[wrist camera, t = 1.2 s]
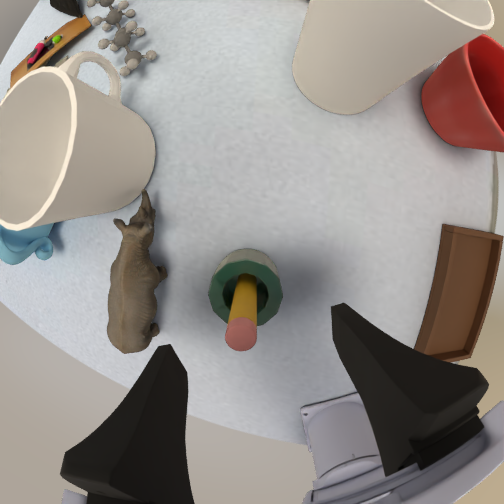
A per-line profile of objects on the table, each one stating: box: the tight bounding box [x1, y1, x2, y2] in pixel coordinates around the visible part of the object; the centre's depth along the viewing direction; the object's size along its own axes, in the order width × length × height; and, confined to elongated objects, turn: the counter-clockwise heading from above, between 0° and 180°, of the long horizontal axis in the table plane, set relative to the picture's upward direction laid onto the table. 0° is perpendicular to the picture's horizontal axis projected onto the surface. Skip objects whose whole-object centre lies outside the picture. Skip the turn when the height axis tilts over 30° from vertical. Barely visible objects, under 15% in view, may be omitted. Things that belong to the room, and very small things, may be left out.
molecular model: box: [87, 0, 157, 76], centre depth 16 cm, size 14×4×5 cm, turn 26°
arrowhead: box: [50, 0, 83, 18], centre depth 14 cm, size 6×1×10 cm
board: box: [10, 14, 91, 89], centre depth 16 cm, size 6×12×2 cm, turn 125°
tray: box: [414, 224, 503, 362], centre depth 22 cm, size 15×9×2 cm, turn 176°
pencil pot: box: [208, 249, 283, 326], centre depth 21 cm, size 5×5×4 cm
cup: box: [292, 0, 494, 115], centre depth 11 cm, size 8×8×16 cm
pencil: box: [225, 273, 257, 351], centre depth 18 cm, size 2×2×10 cm
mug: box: [0, 51, 156, 231], centre depth 15 cm, size 10×12×12 cm
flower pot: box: [421, 34, 504, 152], centre depth 14 cm, size 11×11×10 cm
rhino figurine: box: [107, 189, 167, 354], centre depth 20 cm, size 4×14×6 cm, turn 168°
